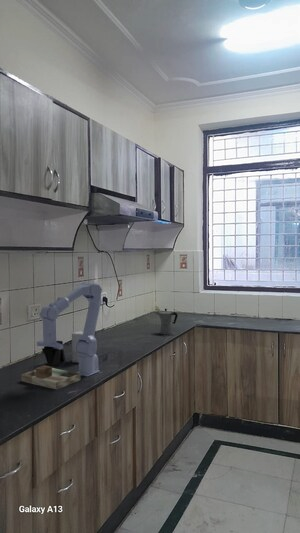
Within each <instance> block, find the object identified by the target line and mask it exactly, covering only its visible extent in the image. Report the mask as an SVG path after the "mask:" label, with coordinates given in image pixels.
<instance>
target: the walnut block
mask: <svg viewBox="0 0 300 533" xmlns="http://www.w3.org/2000/svg"><path fill="white" fill-rule="evenodd" d="M52 368H53V367H52V366H51V365H41V366H38V367H35V370H36V377H39V378H43V379H44V378H47V377H50V376H52Z"/></svg>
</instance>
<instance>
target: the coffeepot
mask: <svg viewBox="0 0 300 533" xmlns="http://www.w3.org/2000/svg"><path fill="white" fill-rule="evenodd" d="M156 314H158V317H159V318H160V322H161V325H160V331H159V333H160V334H159V335H166V336H167V335H172V334H173V329H172V325H171V322H172V319H173V318H172V317H173V316H174V320H173V322H172V324H176V322H177V320H178V316H179V315H178V313H177V312H176V311H172V312H171V311H168V309H167V308H164V311H159V312H157V313H156Z"/></svg>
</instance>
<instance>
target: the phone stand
mask: <svg viewBox="0 0 300 533" xmlns="http://www.w3.org/2000/svg"><path fill="white" fill-rule="evenodd" d="M56 342H57V343H60V344H63V345H64V341H63V340H56ZM65 362H66V356H65V352H64V348H63V349H61V350H59V349H58V350H57V352H56V354H55V356H54V360H53V363H52V364H48V363H47V366H55V367H56V366H57V367H59V366H60V365H62V364H64V363H65Z"/></svg>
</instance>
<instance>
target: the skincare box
mask: <svg viewBox="0 0 300 533" xmlns="http://www.w3.org/2000/svg"><path fill="white" fill-rule="evenodd" d="M83 331H84V330H83ZM83 331H82V330H80V331H75V332H72V333H71V352H72V355H71V356H72V357H71V358H72V359H71V361H72V363H78V364H79V355H78V352H77V351H76V349H75V346H76V343H77V342H78V339H79V337H80V336H81V335H83ZM86 342H88V341H86Z"/></svg>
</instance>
